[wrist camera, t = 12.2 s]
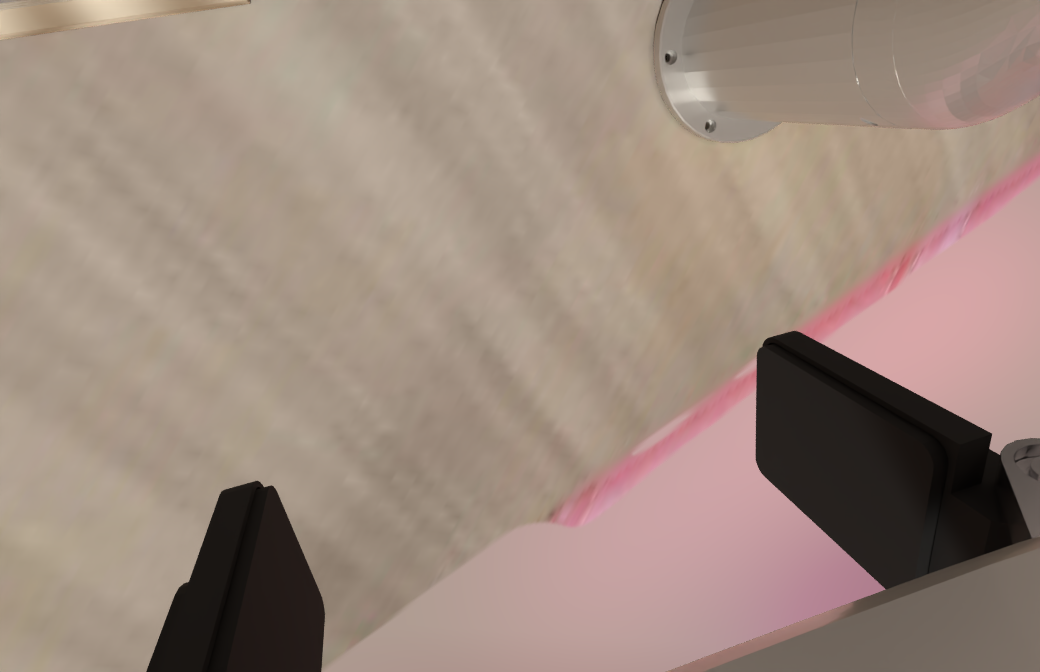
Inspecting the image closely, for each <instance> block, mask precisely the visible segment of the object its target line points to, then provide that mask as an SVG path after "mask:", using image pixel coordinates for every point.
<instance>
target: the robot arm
mask: <svg viewBox="0 0 1040 672" xmlns="http://www.w3.org/2000/svg"><path fill="white" fill-rule="evenodd" d="M653 47H654V69H655V74H656V80H657V85H658V87H659V90H660V93H661V95H662V98H663V101H664V102H665V104H666V106H667V107H668V109H669V111H670V112H671V114H672V115H673V117H674V118H675V119H676V120H677V121H678V122H679V123H680V124H681V125H682V126H683V127H684V128H686V129H687V130H689V131H690V132H692V133H693V134H695V135H696V136H699V137H702V138H704V139H707V140H710V141H717V142H726V143H738V142H743V141H747V140H752V139H755V138H757V137H759V136H761V135H764V134H766V133H768V132H769V131H771V130H772V129H774V128H775V127H777V126H778V125H780V124H781V123H782V122H788V123H806V124H825V125H844V126H863V127H882V128H901V129H930V130H945V129H957V128H963V127H969V126H973V125H977V124H981V123H984V122H987V121H990V120H993V119H995V118H998V117H1001V116H1003V115H1005V114H1007V113H1009V112H1011V111H1013V110H1015V109H1017V108H1018V107H1020V106H1022V105H1024V104H1026V103H1028V102H1030V101H1031V100H1033V99H1034V98H1036V97H1038V96H1039V95H1040V0H664V2H663V4H662V7H661V11H660V14H659V17H658V21H657V24H656V30H655V38H654V45H653ZM665 54H666V55H667V61H665ZM705 124H706V128H705ZM756 394H757V395H756V462H757V465H758V468H759V470H760V471H761V473H762V474H763V475H764V476H765V477H766V478H767V479H768V480H769V481H770V482H771V483H772V484H773V485H774V486H775V487H776V488H778V489H779V490H780V491H781V492H782V493H783V494H784V495H785V496H786V497H787V498H788V499H789V500H790V501H792V502H793V503H794V504H795V505H796V506H797V507H798V508H799V509H800V510H801V511H802V512H803V513H804V514H805V515H807V516H808V517H809V518H810V519H811V520H812V521H813V522H814V523H815V524H816V525H817V526H818V527H819V528H821V529H822V530H823V531H824V532H825V533H826V534H827V535H828V536H829V537H830V538H832V539H833V541H835V542H836V543H837V544H838V545H839V546H840V547H841V548H842V549H843V550H844V551H846V553H847V554H849V555H850V556H851V557H852V558H853V559H854V560H855V561H856V562H857V563H858V564H859V565H860V566H861V567H863V568H864V569H865V570H866V571H867V572H868V573H869V574H870V575H871V576H872V577H873V578H874V579H876V580H877V581H878V582H879V583H880V584H881V585H882V586H883V587H884V588H885V589H886V590H884V591H881V592H879V593H876V594H873V595H871V596H868V597H865V598H862V599H859V600H857V601H854V602H851V603H849V604H846V605H843V606H841V607H838V608H835V609H832V610H830V611H827V612H824V613H822V614H819V615H816V616H813V617H811V618H808V619H805V620H802V621H800V622H797V623H794V624H792V625H789V626H786V627H784V628H781V629H778V630H776V631H773V632H770V633H768V634H765V635H763V636H760V637H757V638H755V639H752V640H749V641H746V642H744V643H741V644H738V645H736V646H733V647H730V648H728V649H725V650H722V651H720V652H717V653H715V654H712V655H709V656H706V657H704V658H701V659H698V660H696V661H693V662H691V663H688V664H685V665H683V666H680V667H677V668H675V669H672V670H670V671H667V672H1040V439H1039V438H1038V439H1037V438H1030V439H1022V440H1016V441H1014V442H1012V443H1010V444H1007V445H1006V446H1005V447H1004V448H1003V450H1002V451H1001V454H1000V455H999V454H997V453H995V452H993V451H992V450H990V449H989V446H990V441H991V437H992V433H990V432H988V431H986V430H984V429H982V428H980V427H978V426H976V425H974V424H972V423H971V422H969V421H967V420H965V419H963V418H961V417H959V416H957V415H956V414H954V413H952V412H950V411H948V410H946V409H944V408H942V407H940V406H938V405H937V404H935V403H933V402H931V401H929V400H927V399H925V398H923V397H921V396H920V395H917V394H916V393H914V392H912V391H910V390H908V389H906V388H904V387H902V386H901V385H899V384H897V383H895V382H893V381H891V380H889V379H887V378H885V377H883V376H882V375H879V374H878V373H876V372H874V371H872V370H870V369H868V368H866V367H865V366H863V365H861V364H859V363H857V362H855V361H853V360H851V359H849V358H847V357H846V356H844V355H842V354H840V353H838V352H836V351H834V350H832V349H830V348H828V347H827V346H825V345H823V344H821V343H819V342H817V341H815V340H813V339H812V338H810V337H808V336H806V335H804V334H802V333H800V332H797V331H791V332H788V333H784V334H781V335H777V336H773V337H770V338H767V339H766V340H765V341H764V343H763V347H761V348H760V349H759V350H758V352H757V390H756ZM324 622H325V612H324V604H323V600H322V597H321V594H320V592H319V589H318V587H317V585H316V582H315V580H314V578H313V575H312V573H311V570H310V568H309V566H308V563H307V561H306V559H305V556H304V554H303V552H302V549H301V547H300V545H299V542H298V540H297V538H296V535H295V533H294V531H293V528H292V526H291V524H290V521H289V519H288V516H287V514H286V512H285V509H284V507H283V505H282V502H281V500H280V498H279V495H278V493H277V491H276V489H275V488H274V487H273V486H268V487H263V485H262V484H261V483H260V482H259V481H254V482H251V483H247V484H244V485H240V486H236V487H233V488H229V489H226V490H223V491H222V492H221V494H220V496H219V498H218V501H217V504H216V507H215V510H214V513H213V515H212V518H211V521H210V524H209V527H208V530H207V532H206V535H205V538H204V541H203V544H202V547H201V549H200V552H199V555H198V558H197V561H196V564H195V566H194V569H193V572H192V575H191V578H190V581H189V582H187V583H184V584H183V585H182V586H181V587H179V589H178V591H177V592H176V594H175V596H174V599H173V602H172V604H171V607H170V610H169V612H168V615H167V618H166V620H165V623H164V626H163V628H162V631H161V634H160V636H159V639H158V642H157V645H156V647H155V650H154V653H153V655H152V658H151V661H150V663H149V666H148V669H147V671H146V672H321V667H322V652H323V637H324Z"/></svg>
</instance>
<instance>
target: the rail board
mask: <svg viewBox="0 0 1040 672" xmlns="http://www.w3.org/2000/svg"><path fill="white" fill-rule="evenodd" d="M243 4H250V1H249V0H0V40H4V39H10V38H17V37H24V36H31V35H38V34H45V33H52V32H58V31H65V30H72V29H79V28H86V27H93V26H100V25H106V24H113V23H120V22H127V21H134V20H141V19H147V18H154V17H161V16H168V15H175V14H182V13H189V12H195V11H202V10H209V9H216V8H223V7H230V6H237V5H243Z"/></svg>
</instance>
